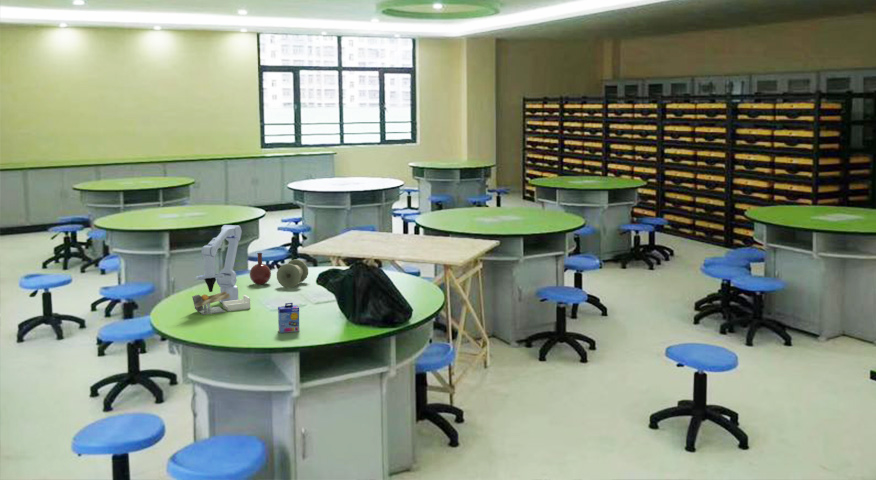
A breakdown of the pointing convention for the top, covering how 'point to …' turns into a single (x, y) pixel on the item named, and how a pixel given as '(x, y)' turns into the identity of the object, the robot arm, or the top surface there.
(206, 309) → the lever stand
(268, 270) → the round-bottom flask
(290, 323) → the ink cartridge box
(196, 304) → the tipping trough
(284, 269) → the spool
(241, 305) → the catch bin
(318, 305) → the top surface
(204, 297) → the ball
